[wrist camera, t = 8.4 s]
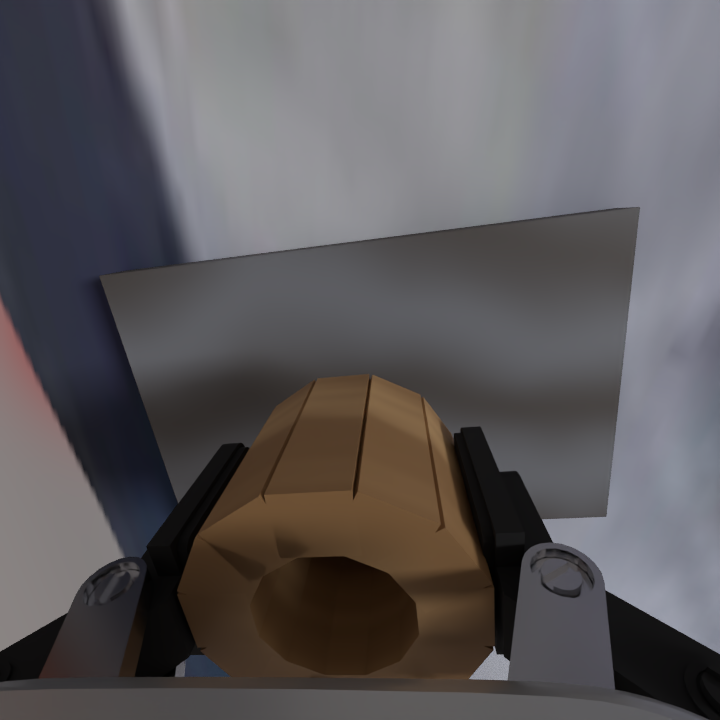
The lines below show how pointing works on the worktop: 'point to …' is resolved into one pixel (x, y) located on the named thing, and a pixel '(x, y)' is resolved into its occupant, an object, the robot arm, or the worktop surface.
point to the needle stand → (401, 341)
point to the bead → (343, 546)
